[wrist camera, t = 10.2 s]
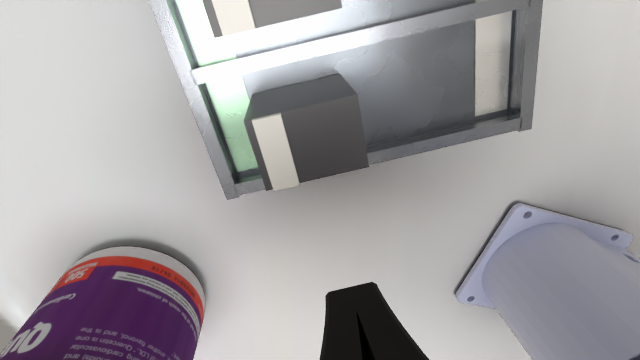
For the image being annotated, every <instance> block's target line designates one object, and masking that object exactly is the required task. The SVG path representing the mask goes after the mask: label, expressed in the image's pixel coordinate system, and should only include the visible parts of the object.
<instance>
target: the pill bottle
mask: <svg viewBox="0 0 640 360" xmlns="http://www.w3.org/2000/svg"><path fill="white" fill-rule="evenodd" d="M204 313H205V296H204V292H203V289H202V287H201V285H200V283H199V281H198V279H197V278H196V276H195V275H194V274H193V273H192V272H191V271H190V270H189V269H188V268H187V267H186V266H185V265H183V264H182V263H181V262H179V261H178V260H176V259H174V258H172V257H170V256H168V255H166V254H163V253H161V252H158V251H154V250H150V249H145V248H139V247H112V248H107V249H103V250H99V251H96V252H93V253H91V254H89V255H87V256H85V257H83V258H81V259H80V260H78V261H77V262H76V263H74V264H73V265H72V266H71V267H70V268H69V269H68V270H67V271H66V272H65V273H64V275H63V276H62V277H61V278H60V279H59V281H58V282H57V283H56V285H55V286H54V287H53V288H52V290H51V291H50V292H49V293H48V295H47V296H46V297H45V298H44V300H43V301H42V302H41V304H40V305H39V306H38V307H37V309H36V310H35V311H34V312H33V314H32V315H31V316H30V317H29V319H28V320H27V321H26V322H25V324H24V325H23V326H22V327H21V329H20V330H19V331H18V333H17V334H16V335H15V336H14V338H13V339H12V340H11V341H10V343H9V344H8V345H7V346H6V348H5V349H4V350H3V351H2V352H1V354H0V360H193V358H194V354H195V350H196V347H197V342H198V338H199V335H200V331H201V327H202V323H203V318H204Z"/></svg>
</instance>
